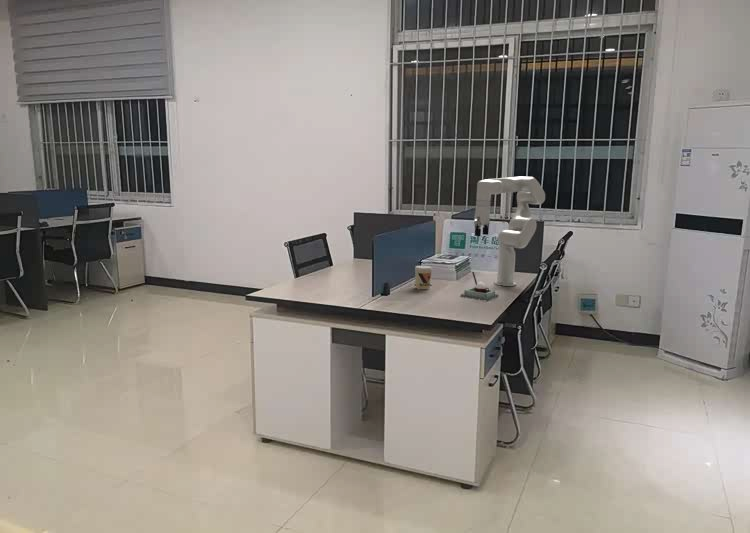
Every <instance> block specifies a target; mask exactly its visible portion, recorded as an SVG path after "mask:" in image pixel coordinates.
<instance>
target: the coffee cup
mask: <svg viewBox="0 0 750 533" xmlns="http://www.w3.org/2000/svg"><path fill="white" fill-rule="evenodd" d="M432 270H433V267H432V266H430V265H415V268H414V274H415V276H414V278H415V279H414V280H415V281H414V282H415V289H416V288H417V290H420V289H427V290H430V289H429V288H431V280H432Z"/></svg>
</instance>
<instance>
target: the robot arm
mask: <svg viewBox="0 0 750 533" xmlns="http://www.w3.org/2000/svg"><path fill="white" fill-rule="evenodd" d="M476 185H477V186H476V202H475V205H476V206H475V209H474V210H475V211H474V219H473V224H474V237H481V233H482V235H486V236H487V235H489V231H490V230H489V229H490V228H489V227H490V224H491V223H490V222H491V218H490V214H491V213H490V211H491V210H490V207H491V202H492V201H491V200H492V199H491V198H492V195H500V194H511V193H516V192H517V194H516V204H517V209H516V211H515V213H514V214H513V216H512V217H511V219H510V221H509V223H508V226H507V227H508V229H503V230H500V231H499V233H498V235H497V242H498V243H497V244H498V258H497V259H498V260H497V274H496V275H497V276H496V280H494V281H493V284H494V285H496V286H497V285H498V286H501V285H502V286H504V287H513V286H514V287H515V286H516V285H517V282H516V281H515V279H516V276H515V268H516V267H515V266H516V251H515V248H516V249H524V248H526V246H528V244H529V243H530V241H531V239H532V238H533V236H534V234H535V232H536V230H537V224H538V223H537V221H536V219H534V218H532V217H531V214H532V211H531V209H530V207H529V205H542V204H543V203H544V202H545V200H546V192H545V191H544V189H543V187H542V186H541V184H540V182H539V181H538V180H537V179H536V178H535V177H533V176H512V177H510V176H509V177H500V178H488V179H482V180H478V182H477V184H476ZM482 226H483V227H482ZM481 227H482V229H481Z"/></svg>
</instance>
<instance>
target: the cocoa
mask: <svg viewBox="0 0 750 533" xmlns="http://www.w3.org/2000/svg"><path fill="white" fill-rule="evenodd" d="M471 272H472V277H473V280H474V287H475V291H476V292H482V293H487V292H488V291H489V290H490V289H489V287H488V285H487V284H485V283H484V282H483V281H477V278H476V275H475V271H471ZM486 290H487V291H486Z"/></svg>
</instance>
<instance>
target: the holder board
mask: <svg viewBox="0 0 750 533" xmlns="http://www.w3.org/2000/svg"><path fill="white" fill-rule="evenodd" d="M487 290H488V289H487ZM487 290H486V291H487ZM497 296H498V297H499V296H500V295H499V293H496V290H492V289H489V291H488V292H487V293H482V292H476V291H475V286H473V287H470V288H467V289H464V291H463V293H461V294H460V297H462V298H466V297H467V298H468V299H472V298H474V299H473V300H478V299H480V300H479V301H484V300H488V301H490V299H491V300H493V299H495V297H496V298H498V297H497ZM467 298H466V299H467ZM492 298H493V299H492Z"/></svg>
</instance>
